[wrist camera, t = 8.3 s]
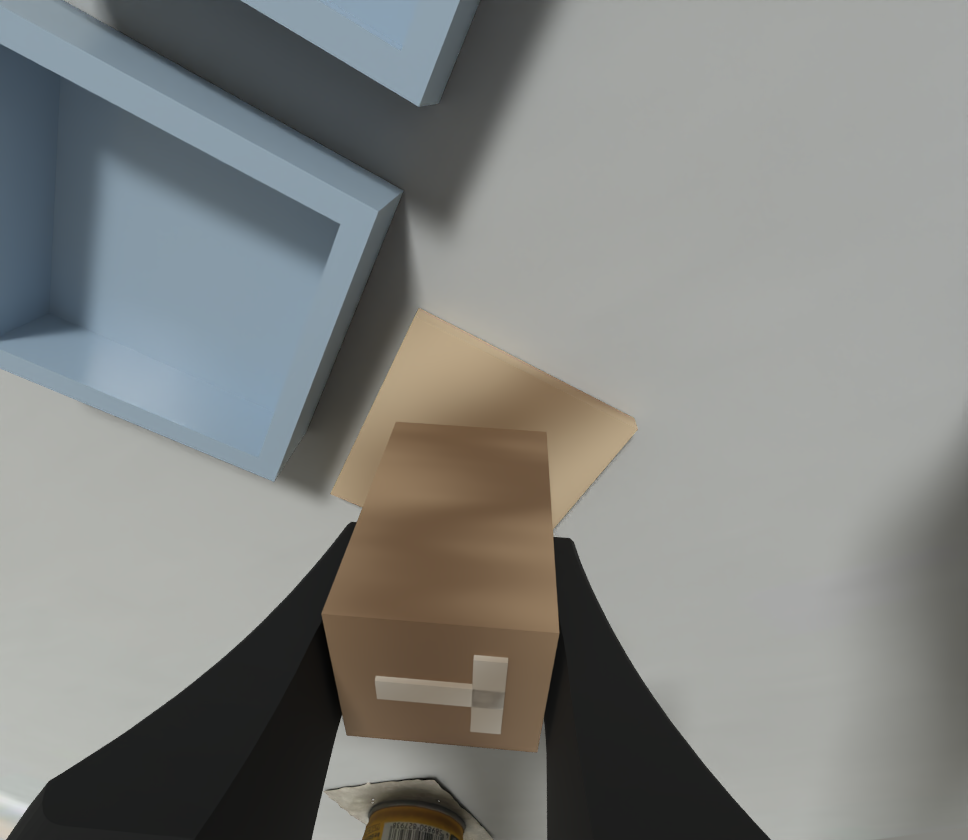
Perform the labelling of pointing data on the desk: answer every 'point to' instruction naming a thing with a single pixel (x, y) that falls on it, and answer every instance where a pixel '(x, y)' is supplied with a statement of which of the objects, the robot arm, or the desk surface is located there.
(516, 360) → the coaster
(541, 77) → the desk surface
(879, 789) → the desk surface
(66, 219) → the dish
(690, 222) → the desk surface
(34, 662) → the desk surface
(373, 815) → the condiment
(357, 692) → the letter block
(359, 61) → the dish
